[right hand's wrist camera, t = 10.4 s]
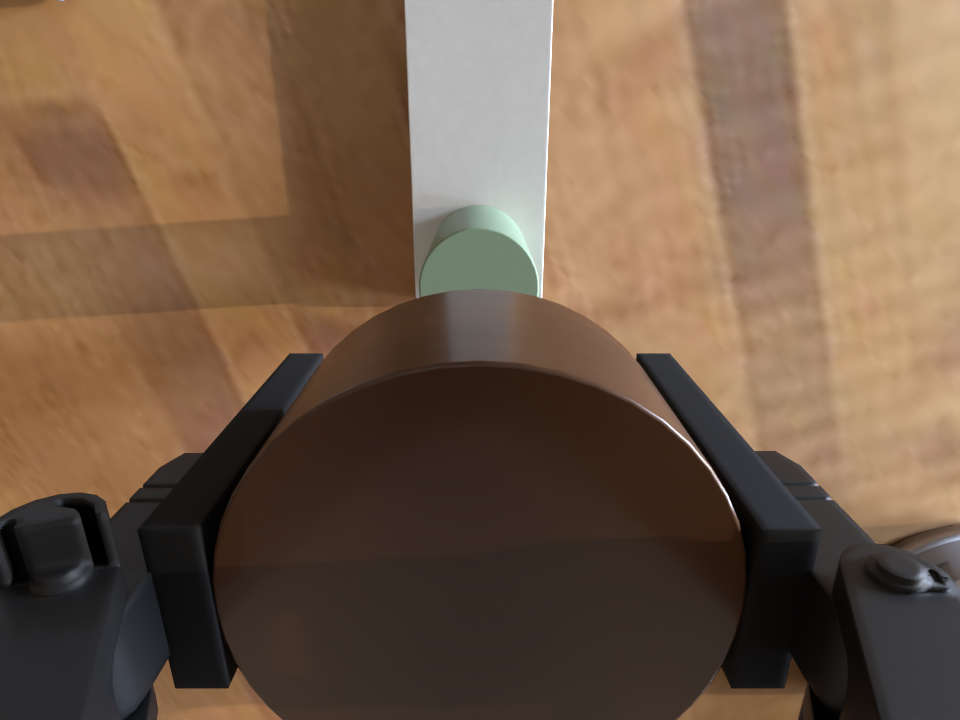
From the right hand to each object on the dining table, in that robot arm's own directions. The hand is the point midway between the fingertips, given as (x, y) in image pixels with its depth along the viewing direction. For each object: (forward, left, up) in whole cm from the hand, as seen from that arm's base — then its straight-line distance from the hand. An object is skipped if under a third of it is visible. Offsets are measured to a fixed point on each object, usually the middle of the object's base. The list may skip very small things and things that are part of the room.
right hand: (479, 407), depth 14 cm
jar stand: (0, -10, -21) cm, 23 cm away
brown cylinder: (0, 0, +3) cm, 3 cm away
